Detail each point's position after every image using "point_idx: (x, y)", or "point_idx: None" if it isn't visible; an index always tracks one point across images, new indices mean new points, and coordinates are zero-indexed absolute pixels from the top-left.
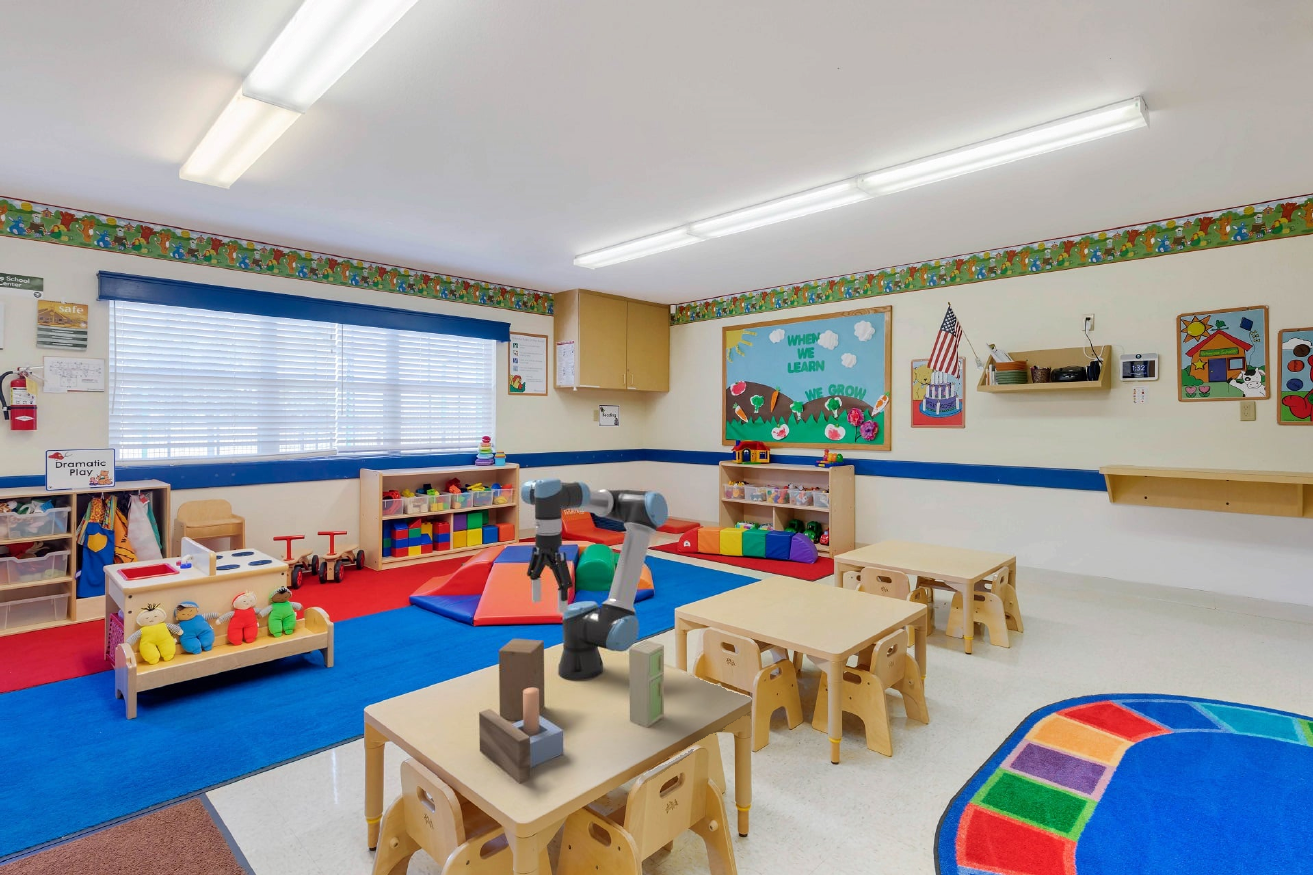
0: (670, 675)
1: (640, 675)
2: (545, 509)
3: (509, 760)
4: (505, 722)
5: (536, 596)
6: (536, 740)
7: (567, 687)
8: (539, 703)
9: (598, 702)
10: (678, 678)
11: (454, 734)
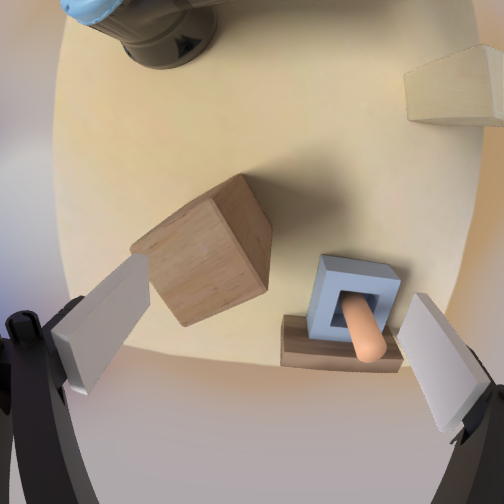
0: None
1: (481, 123)
2: None
3: None
4: (344, 360)
5: (135, 302)
6: (384, 322)
7: (206, 87)
8: (254, 201)
9: (311, 93)
10: None
11: (211, 323)
